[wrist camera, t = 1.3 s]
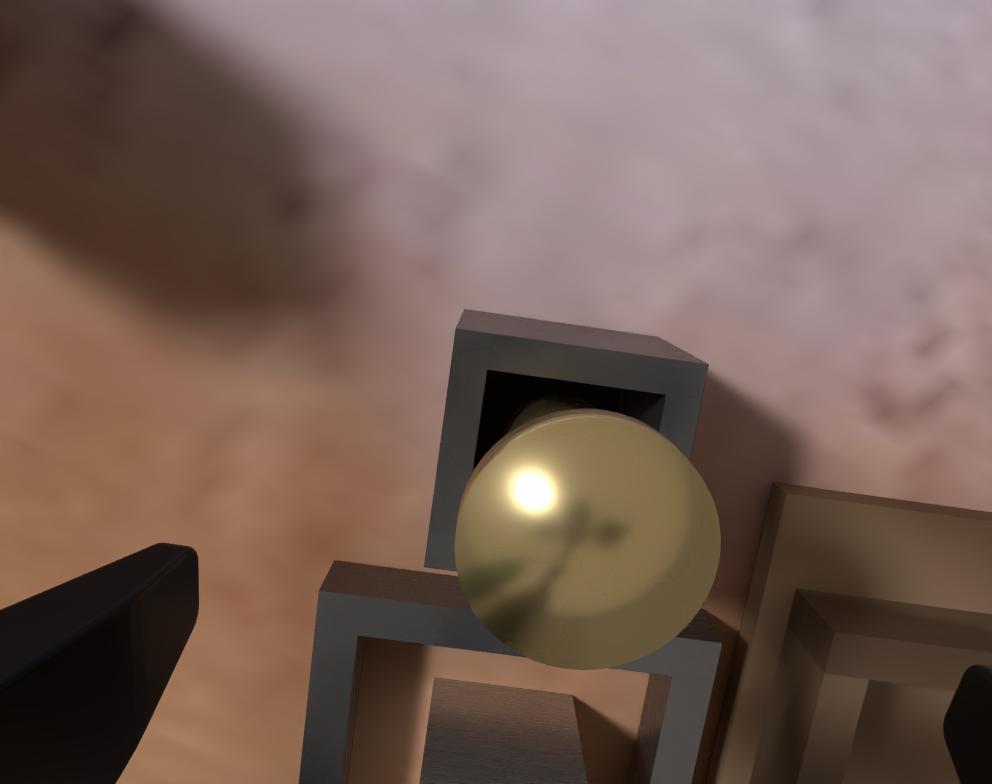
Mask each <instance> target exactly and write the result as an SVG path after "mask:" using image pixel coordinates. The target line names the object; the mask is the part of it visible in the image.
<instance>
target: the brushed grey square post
mask: <svg viewBox="0 0 992 784" xmlns="http://www.w3.org/2000/svg"><path fill="white" fill-rule="evenodd" d="M419 784H588V782H587V777H586V771H585V765H584V760H583V754H582V748H581V742H580V737H579V731H578V725H577V720H576V714H575V708H574V703H573V697H572V695H568V694H560V693H552V692H544V691H536V690H529V689H521V688H513V687H505V686H497V685H489V684H481V683H474V682H466V681H458V680H450V679H442V678H434V683H433V690H432V698H431V705H430V712H429V719H428V726H427V733H426V740H425V747H424V755H423V762H422V769H421V776H420V783H419Z"/></svg>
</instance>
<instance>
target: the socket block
mask: <svg viewBox="0 0 992 784" xmlns="http://www.w3.org/2000/svg"><path fill="white" fill-rule="evenodd" d="M708 366H709V364H707V363H706V362H704V361H702V360H700V359H698V358H696V357H694V356H693V355H691V354H689V353H687V352H685V351H683V350H682V349H680V348H678V347H676V346H674V345H672V344H670V343H669V342H667V341H665V340H663V339H661V338H659V337H655V336H648V335H641V334H634V333H627V332H620V331H613V330H606V329H599V328H592V327H585V326H578V325H571V324H564V323H557V322H550V321H543V320H536V319H529V318H522V317H515V316H508V315H501V314H494V313H487V312H480V311H473V310H466V309H464V311H463V314H462V316H461V318H460V320H459V322H458V324H457V327H456V330H455V337H454V345H453V352H452V360H451V367H450V375H449V383H448V390H447V398H446V405H445V413H444V420H443V428H442V435H441V443H440V450H439V458H438V465H437V473H436V480H435V488H434V495H433V503H432V510H431V518H430V526H429V533H428V541H427V548H426V556H425V563H424V567H427V568H434V569H442V570H449V571H457V568H456V560H455V536H456V526H457V518H458V512H459V507H460V503H461V498H462V495H463V493H464V490H465V487H466V484H467V482H468V480H469V478H470V476H471V475H472V472H473V465H474V458H475V451H476V444H477V437H478V430H479V423H480V416H481V409H482V401H483V394H484V387H485V380H486V373H487V369H488V370H495V371H502V372H509V373H516V374H523V375H530V376H537V377H544V378H552V379H559V380H566V381H573V382H580V383H587V384H594V385H601V386H608V387H615V388H621V391H620V397H619V402H618V408H617V413H621V414H623V415H626V416H629V417H632V418H635V419H637V420H639V421H641V422H643V423H645V424H647V425H649V426H651V427H652V428H654V429H655V430H657V431H658V432H660V433H661V434H662V435H664V436H665V437H666V438H667V439H668V440H669V441H670V442H672V443H673V444H674V445H675V446H676V447H677V448H678V449H679V450H680V451H681V453H682V454H683V455H684V456H685V457H686V458H687V459H688V460H690V455H691V450H692V445H693V440H694V435H695V430H696V426H697V421H698V416H699V411H700V406H701V401H702V396H703V391H704V386H705V381H706V376H707V371H708ZM365 637H373V638H381V639H389V640H396V641H404V642H412V643H420V644H428V645H435V646H443V647H451V648H459V649H466V650H474V651H482V652H490V653H498V654H505V655H513V656H521V657H525V656H523V655H521V654H519V653H517V652H516V651H514V650H513V649H511V648H509V647H508V646H506V645H505V644H504V643H502V642H501V641H500V640H499V639H497V638H496V637H495V636H494V635H493V634H492V633H491V632H490V631H489V630H488V629H487V628H486V627H485V626H484V625H483V624H482V623H481V621H480V620H479V618H478V617H477V616H476V614H475V613H474V611H473V610H472V608H471V606H470V604H469V603H468V601H467V599H466V597H465V595H464V592H463V589H462V587H461V584H460V581H459V577H457V576H449V575H442V574H434V573H426V572H419V571H411V570H404V569H396V568H388V567H381V566H373V565H366V564H358V563H350V562H343V561H335V560H334V562H333V564H332V566H331V568H330V570H329V572H328V574H327V576H326V578H325V580H324V582H323V584H322V586H321V588H320V590H319V595H318V605H317V615H316V624H315V634H314V643H313V653H312V663H311V672H310V682H309V691H308V701H307V711H306V720H305V730H304V740H303V749H302V759H301V768H300V778H299V784H348V778H349V769H350V761H351V752H352V744H353V735H354V727H355V719H356V710H357V702H358V693H359V685H360V676H361V668H362V659H363V651H364V643H365ZM721 647H722V642H721V640H720V638H719V637H718V635H717V633H716V631H715V630H714V628H713V626H712V624H711V623H710V621H709V619H708V618H707V616H706V614H705V612H704V611H703V609H700V610H699V612H698V613H697V614H696V615H695V617H694V618H693V619H692V620H691V622H690V623H689V624H688V625H687V626H686V627H685V628H684V629H683V630H682V631H681V632H680V633H679V634H678V635H677V636H676V637H674V638H673V639H672V640H671V641H669V642H668V643H667V644H665V645H664V646H663V647H661V648H659V649H657V650H656V651H654V652H652V653H650V654H649V655H647V656H644V657H642V658H640V659H637V660H635V661H633V662H629V663H626V664H622V665H619V666H615V667H609V668H614V669H622V670H630V671H638V672H645V673H650V677H649V682H648V687H647V692H646V696H645V701H644V706H643V711H642V716H641V721H640V726H639V731H638V736H637V741H636V746H635V751H634V756H633V761H632V766H631V770H630V775H629V780H628V784H691V782H692V778H693V773H694V769H695V764H696V760H697V755H698V751H699V746H700V742H701V737H702V733H703V728H704V724H705V719H706V715H707V710H708V706H709V701H710V697H711V692H712V688H713V683H714V679H715V674H716V670H717V665H718V661H719V656H720V652H721Z"/></svg>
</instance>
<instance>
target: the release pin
mask: <svg viewBox="0 0 992 784" xmlns="http://www.w3.org/2000/svg"><path fill="white" fill-rule="evenodd" d="M720 552H721V532H720V524H719V517H718V514H717V510H716V507H715V503H714V500H713V498H712V496H711V494H710V491H709V489H708V487H707V485H706V483H705V482H704V480H703V479H702V477H701V475H700V474H699V472H698V471H697V470H696V469H695V467H694V466H693V465H692V464H691V463H690V461H689V460H688V459H687V458H686V457H685V456H684V455H683V454H682V453H681V451H680V450H679V449H678V448H677V447H676V446H675V445H674V444H673V443H672V442H670V441H669V440H668V439H667V438H666V437H665V436H664V435H662V434H661V433H660V432H658V431H657V430H655V429H654V428H652V427H651V426H649V425H647V424H645V423H643V422H641V421H639V420H637V419H635V418H632V417H629V416H626V415H623V414H621V413H616V412H611V411H607V410H599V409H595V408H594V407H593V406H592V405H590V404H589V403H587V402H585V401H583V400H581V399H579V398H576V397H573V396H568V395H548V396H543V397H540V398H537V399H534V400H532V401H530V402H528V403H527V404H525V405H524V406H522V407H521V408H520V409H519V410H517V411H516V413H515V414H514V415H513V416H512V417H511V419H510V420H509V421H508V423H507V425H506V427H505V429H504V431H503V434H502V438H501V439H500V440H499V441H498V442H497V443H496V444H494V445H493V447H492V448H491V449H490V450H489V451H488V452H487V453H486V454H485V455H484V456H483V458H482V459H481V461H480V462H479V463H478V465H477V466H476V468H475V469H474V471H473V473H472V475H471V476H470V478H469V480H468V482H467V484H466V487H465V490H464V493H463V495H462V498H461V503H460V507H459V512H458V518H457V526H456V536H455V560H456V568H457V572H458V577H459V581H460V584H461V587H462V589H463V592H464V595H465V597H466V599H467V601H468V603H469V604H470V606H471V608H472V610H473V611H474V613H475V614H476V616H477V617H478V618H479V620H480V621H481V623H482V624H483V625H484V626H485V627H486V628H487V629H488V630H489V631H490V632H491V633H492V634H493V635H494V636H495V637H496V638H497V639H499V640H500V641H501V642H502V643H504V644H505V645H506V646H508V647H509V648H511V649H513V650H514V651H516V652H517V653H519V654H521V655H523V656H525V657H528V658H530V659H532V660H534V661H537V662H540V663H543V664H546V665H550V666H555V667H560V668H565V669H577V670H591V669H603V668H609V667H615V666H619V665H622V664H626V663H629V662H633V661H635V660H637V659H640V658H642V657H644V656H647V655H649V654H650V653H652V652H654V651H656V650H657V649H659V648H661V647H663V646H664V645H665V644H667V643H668V642H669V641H671V640H672V639H673V638H674V637H676V636H677V635H678V634H679V633H680V632H681V631H682V630H683V629H684V628H685V627H686V626H687V625H688V624H689V623H690V622H691V620H692V619H693V618H694V617H695V615H696V614H697V613H698V612H699V610H700V608H701V607H702V605H703V603H704V602H705V600H706V599H707V597H708V594H709V592H710V590H711V588H712V585H713V583H714V580H715V576H716V573H717V570H718V566H719V559H720Z"/></svg>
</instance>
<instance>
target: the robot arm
mask: <svg viewBox="0 0 992 784" xmlns="http://www.w3.org/2000/svg"><path fill="white" fill-rule="evenodd" d="M198 610H199V571H198V556H197V552H196V551H195V550H194V549H193V548H192V547H189V546H183V545H176V544H169V543H157V544H155V545H152V546H150V547H148V548H145V549H143V550H141V551H138V552H136V553H133V554H131V555H129V556H126V557H124V558H122V559H119V560H117V561H115V562H112V563H110V564H108V565H105V566H103V567H100V568H98V569H96V570H93V571H91V572H89V573H86V574H84V575H82V576H79V577H77V578H75V579H72V580H70V581H67V582H65V583H63V584H60V585H58V586H56V587H53V588H51V589H49V590H46V591H44V592H42V593H39V594H37V595H34V596H32V597H30V598H27V599H25V600H23V601H20V602H18V603H16V604H13V605H11V606H9V607H6V608H4V609H1V610H0V784H115V783H116V782H117V780H118V779H119V777H120V775H121V774H122V772H123V770H124V769H125V767H126V765H127V763H128V762H129V760H130V758H131V757H132V755H133V753H134V751H135V750H136V748H137V746H138V744H139V742H140V740H141V738H142V736H143V734H144V732H145V730H146V728H147V726H148V724H149V722H150V720H151V718H152V715H153V713H154V711H155V709H156V707H157V705H158V703H159V701H160V698H161V696H162V694H163V692H164V690H165V688H166V686H167V684H168V681H169V679H170V677H171V675H172V673H173V671H174V669H175V667H176V664H177V662H178V660H179V658H180V656H181V654H182V652H183V650H184V647H185V645H186V643H187V641H188V639H189V637H190V635H191V633H192V631H193V628H194V626H195V623H196V620H197V616H198ZM943 734H944V739H945V743H946V746H947V748H948V751H949V754H950V757H951V759H952V762H953V765H954V768H955V770H956V773H957V776H958V779H959V781H960V784H992V666H991V665H984V664H974V665H971V666H970V667H969V668H967V669H966V670H965V672H964V674H963V676H962V678H961V681H960V683H959V685H958V687H957V690H956V692H955V694H954V696H953V698H952V701H951V703H950V705H949V707H948V710H947V712H946V714H945V717H944V722H943Z"/></svg>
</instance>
